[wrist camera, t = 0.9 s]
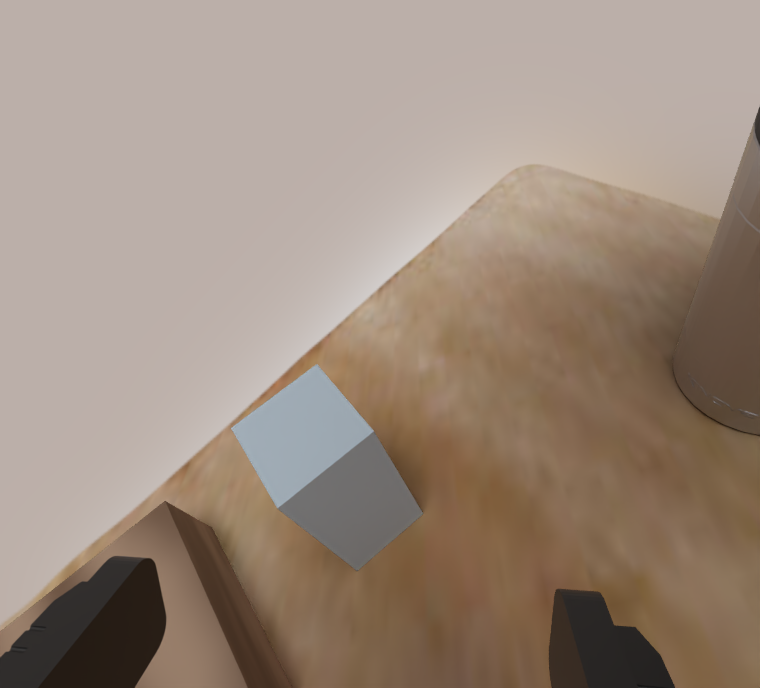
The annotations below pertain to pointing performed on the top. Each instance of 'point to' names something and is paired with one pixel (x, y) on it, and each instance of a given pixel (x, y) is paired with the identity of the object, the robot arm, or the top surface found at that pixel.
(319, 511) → the slate block
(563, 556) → the top surface
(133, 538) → the walnut block
